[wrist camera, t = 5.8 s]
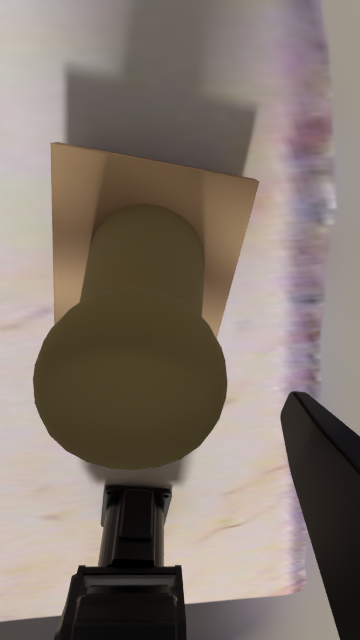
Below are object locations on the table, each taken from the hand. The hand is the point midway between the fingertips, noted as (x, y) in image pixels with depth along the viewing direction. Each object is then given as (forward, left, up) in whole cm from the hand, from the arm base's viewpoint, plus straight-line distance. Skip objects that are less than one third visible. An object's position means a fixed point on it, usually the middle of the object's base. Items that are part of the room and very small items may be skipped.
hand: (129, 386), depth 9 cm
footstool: (0, 0, -13) cm, 13 cm away
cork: (0, 0, -10) cm, 10 cm away
